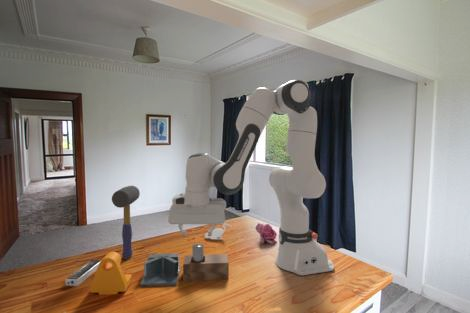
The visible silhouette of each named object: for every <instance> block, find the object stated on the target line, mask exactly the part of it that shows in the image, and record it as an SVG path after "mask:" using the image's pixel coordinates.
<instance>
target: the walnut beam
mask: <svg viewBox="0 0 470 313" xmlns="http://www.w3.org/2000/svg"><path fill="white" fill-rule="evenodd" d="M229 267H230V266H229V256H228V253H223V254H222V253H221V254H218V253H217V254H203V262H196V263H192V254H191V255H189V254H188V255H187V254H186V255H184V259H183V263H182V281H183V282H186V281H187V282H189V281H190V282H191V281H209V280H210V281H212V280H216V281H217V280H229V273H230V272H229V271H230V270H229V269H230V268H229Z"/></svg>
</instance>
